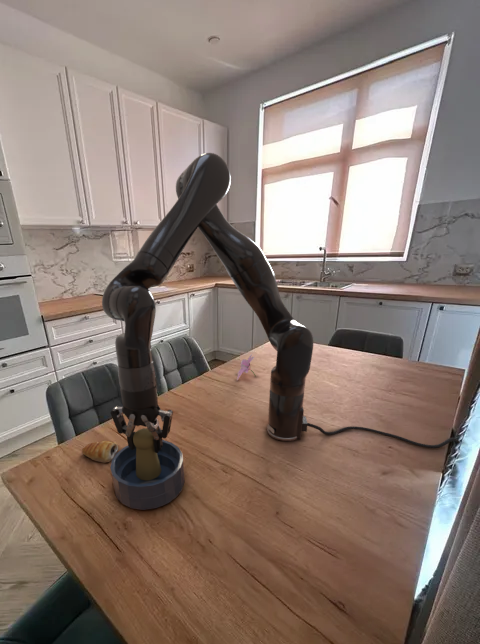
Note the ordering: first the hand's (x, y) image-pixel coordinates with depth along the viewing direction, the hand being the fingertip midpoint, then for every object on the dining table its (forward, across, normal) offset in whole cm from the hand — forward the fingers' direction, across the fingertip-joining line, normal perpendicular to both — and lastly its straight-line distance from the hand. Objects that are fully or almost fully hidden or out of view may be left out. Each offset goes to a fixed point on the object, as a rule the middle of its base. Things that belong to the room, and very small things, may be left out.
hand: (145, 449), depth 71 cm
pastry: (+10, -17, +8) cm, 21 cm away
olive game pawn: (+7, 0, 0) cm, 7 cm away
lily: (+9, +24, +68) cm, 72 cm away
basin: (+10, 0, 0) cm, 10 cm away
